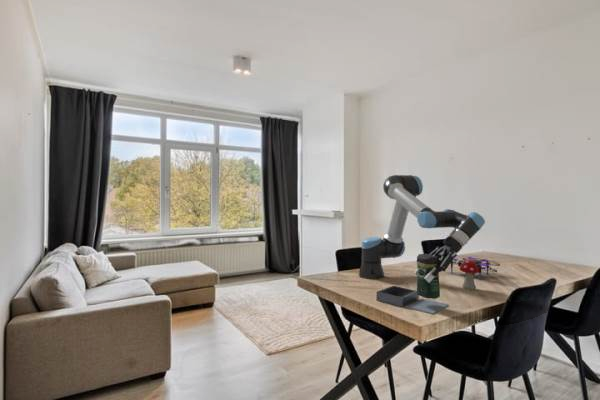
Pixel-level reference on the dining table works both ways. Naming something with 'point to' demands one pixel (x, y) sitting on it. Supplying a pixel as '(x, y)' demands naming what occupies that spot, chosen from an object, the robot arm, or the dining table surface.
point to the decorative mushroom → (469, 274)
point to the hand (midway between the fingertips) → (421, 277)
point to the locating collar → (390, 298)
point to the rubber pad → (427, 306)
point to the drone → (478, 263)
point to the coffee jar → (424, 267)
